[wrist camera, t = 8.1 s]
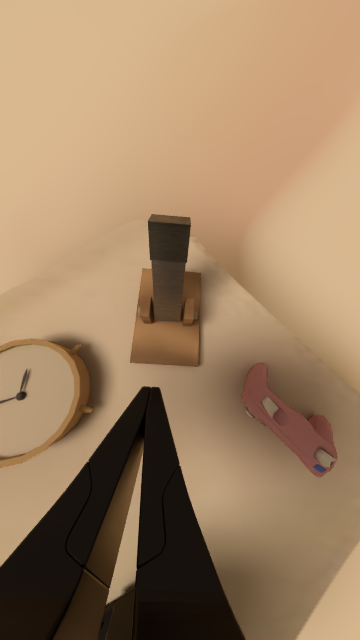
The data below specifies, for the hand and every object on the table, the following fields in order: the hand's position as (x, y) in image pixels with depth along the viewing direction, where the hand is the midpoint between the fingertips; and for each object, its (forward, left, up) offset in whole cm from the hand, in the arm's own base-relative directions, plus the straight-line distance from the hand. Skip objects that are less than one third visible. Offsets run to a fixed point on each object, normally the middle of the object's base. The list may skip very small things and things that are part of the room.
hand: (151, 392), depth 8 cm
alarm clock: (+4, +15, -13) cm, 20 cm away
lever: (+7, -3, -10) cm, 13 cm away
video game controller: (-8, -11, -13) cm, 18 cm away
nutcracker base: (+7, -3, -12) cm, 15 cm away
